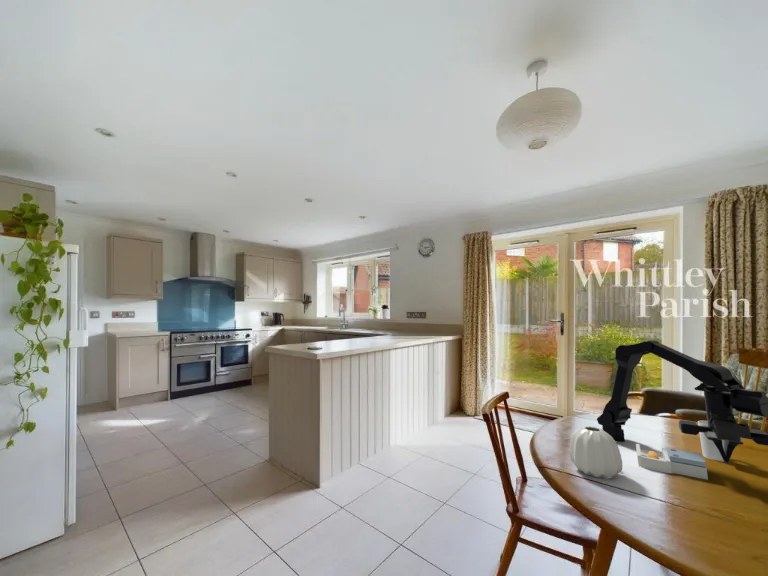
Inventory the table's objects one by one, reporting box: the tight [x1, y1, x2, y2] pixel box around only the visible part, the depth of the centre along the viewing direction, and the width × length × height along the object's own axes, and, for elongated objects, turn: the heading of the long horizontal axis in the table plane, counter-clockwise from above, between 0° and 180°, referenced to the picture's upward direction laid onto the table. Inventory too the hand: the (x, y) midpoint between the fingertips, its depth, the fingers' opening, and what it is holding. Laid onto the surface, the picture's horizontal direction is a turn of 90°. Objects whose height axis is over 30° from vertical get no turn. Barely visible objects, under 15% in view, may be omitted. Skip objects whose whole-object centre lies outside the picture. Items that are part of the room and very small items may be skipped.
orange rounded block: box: [648, 450, 659, 459], centre depth 103 cm, size 3×8×3 cm, turn 143°
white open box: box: [635, 443, 709, 480], centre depth 103 cm, size 16×18×4 cm
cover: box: [666, 447, 707, 468], centre depth 98 cm, size 8×8×2 cm
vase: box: [569, 425, 623, 479], centre depth 100 cm, size 14×14×13 cm
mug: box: [697, 420, 725, 463], centre depth 108 cm, size 10×7×12 cm, turn 127°
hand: (726, 462), depth 93 cm, fingers closed
